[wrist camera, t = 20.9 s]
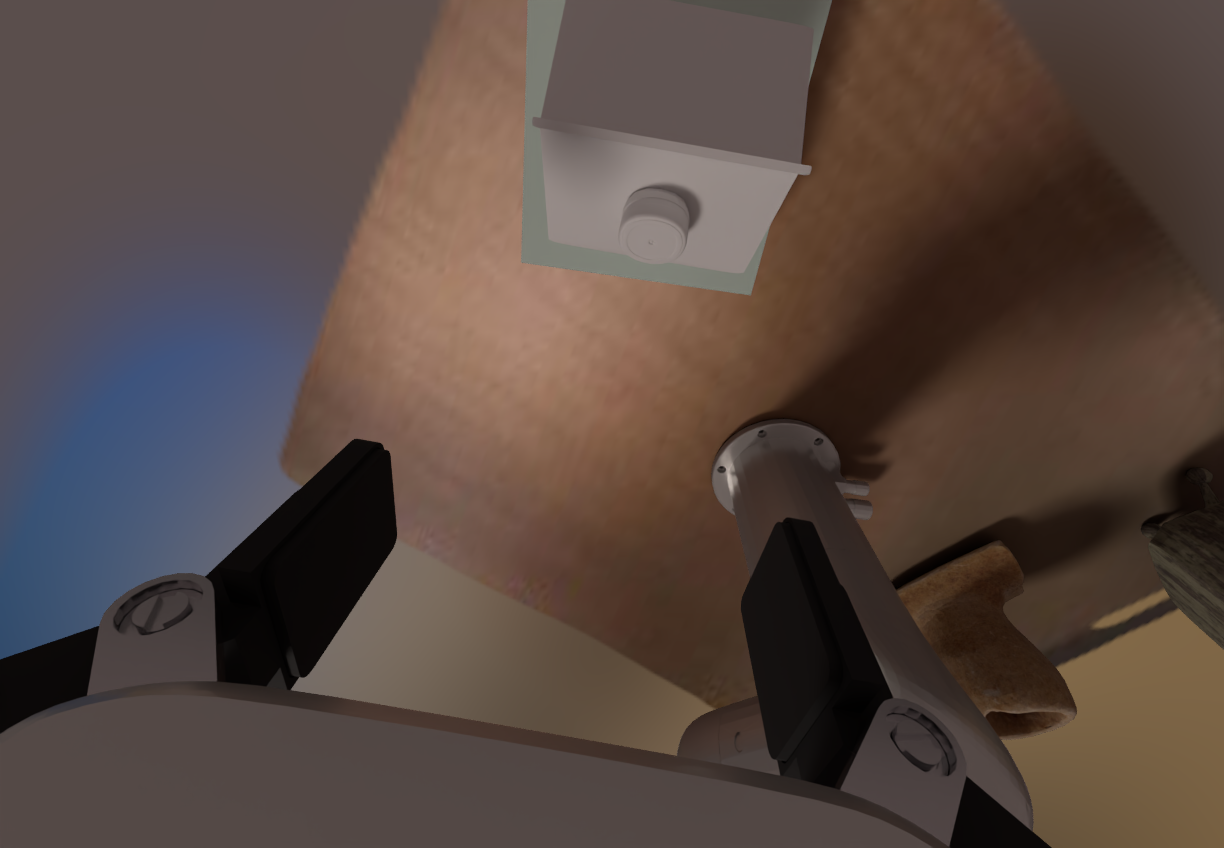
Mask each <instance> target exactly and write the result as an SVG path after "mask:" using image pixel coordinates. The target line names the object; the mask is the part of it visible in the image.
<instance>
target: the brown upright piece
mask: <svg viewBox="0 0 1224 848" xmlns="http://www.w3.org/2000/svg"><path fill="white" fill-rule="evenodd" d="M1023 583H1024V574H1023V572H1022V570H1021V568H1020V566H1019V564H1018V562H1017V560H1016V558H1015V557H1014V556H1013V554H1012V553H1011V551H1010V550H1009V548H1008V547H1006V546H1005V545H1004V544H1003V543H1002V541H1000V540H997V541H994V542H991V543H989V544H987V545H984V546H982V547H980V548H978V549H976V550H974V551H972V552H969V553H967V554H965V555H963V556H961V557H958V558H956V559H954V560H952V561H950V562H948V563H946V564H944V565H942V566H940V567H937V568H935V569H933V570H931V571H929V572H927V573H926V574H924V575H922V576H920V577H918V578H916V579H914V580H913V581H911V582H909V583H907V584H905V585H903V586H902V587H900V588H898V589H896V591H897V593H898V595H899V596H900V598H901V600H902V601H903V603H904V605H905V606H906V608H907V609H908V611H909V613H910V614H911V616H912V618H913V619H914V621H915V623H916V624H917V626H918V627H919V629H920V631H921V632H922V634H923V635H924V637H925V638H926V640H927V641H928V642H929V644H930V645H931V647H932V648H933V649H934V651H935V652H936V654H937V655H938V657H939V658H940V659H941V661H942V662H943V664H944V665H945V666H946V668H947V669H948V670H949V671H950V673H951V674H952V675H953V677H954V678H955V679H956V681H957V682H958V683H959V685H960V686H961V687H962V688H963V690H964V691H965V692H966V694H967V695H968V696H969V697H970V699H971V700H972V701H973V703H974V704H975V705H976V706H977V708H978V709H979V710H980V712H981V713H982V714H983V716H984V717H985V718H986V719H987V721H988V722H989V723H990V725H991V726H992V728H993V729H994V731H995V732H996V734H997V735H998V736H999V738H1000V739H1001V740H1011V739H1021V738H1026V737H1032V736H1036V735H1039V734H1042V733H1045V732H1049V731H1053V730H1055V729H1057V728H1059V727H1062V726H1064V725H1066V724H1067V723H1069V722H1070V721H1071V720H1073V719H1074V718H1075V716H1076V714H1077V709H1076V706H1075V702H1074V700H1073V697H1072V695H1071V693H1070V691H1069V689H1068V687H1067V685H1066V683H1065V680H1064V679H1063V677H1062V676H1061V674H1060V673H1059V671H1058V670H1057V669H1056V668H1055V666H1054V665H1053V664H1052V663H1051V662H1050V661H1049V660H1048V659H1047V658H1046V657H1045V656H1044V655H1043V654H1042V653H1041V652H1040V651H1039V650H1038V649H1037V648H1036V647H1035V646H1034V645H1033V644H1032V643H1031V642H1030V641H1029V640H1028V639H1027V638H1026V637H1025V636H1024V635H1023V634H1022V633H1020V632H1019V631H1018V630H1017V629H1016V628H1015V627H1014V626H1013V625H1012V623H1011V622H1010V621H1009V620H1008V619H1007V617H1006V616H1005V614H1004V612H1003V605H1004V603H1005V602H1007V601H1008V600H1010V599H1012V598H1014V597H1016V596H1018V595H1020V594H1022V593H1023V592H1024V590H1023V587H1022V584H1023Z"/></svg>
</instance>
